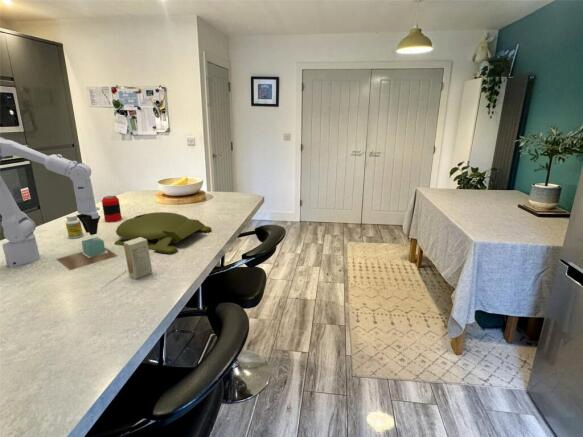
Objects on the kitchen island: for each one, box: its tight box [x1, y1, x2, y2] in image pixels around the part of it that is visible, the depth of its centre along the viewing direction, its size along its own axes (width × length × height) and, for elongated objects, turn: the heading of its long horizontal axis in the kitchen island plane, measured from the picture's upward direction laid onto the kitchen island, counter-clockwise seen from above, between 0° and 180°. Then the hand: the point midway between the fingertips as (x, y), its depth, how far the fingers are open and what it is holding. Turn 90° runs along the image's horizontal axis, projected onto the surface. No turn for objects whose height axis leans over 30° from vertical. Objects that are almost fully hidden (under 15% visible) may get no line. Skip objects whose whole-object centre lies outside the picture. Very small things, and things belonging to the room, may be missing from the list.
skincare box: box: [123, 237, 153, 280], centre depth 112 cm, size 6×4×12 cm
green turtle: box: [114, 211, 212, 255], centre depth 147 cm, size 35×31×10 cm
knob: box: [81, 236, 106, 257], centre depth 127 cm, size 6×6×5 cm
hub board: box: [56, 247, 119, 271], centre depth 124 cm, size 16×14×4 cm
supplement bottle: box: [65, 214, 83, 239], centre depth 147 cm, size 5×5×10 cm
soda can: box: [101, 195, 123, 223], centre depth 169 cm, size 8×8×12 cm
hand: (91, 233), depth 126 cm, fingers open, 3 cm apart
